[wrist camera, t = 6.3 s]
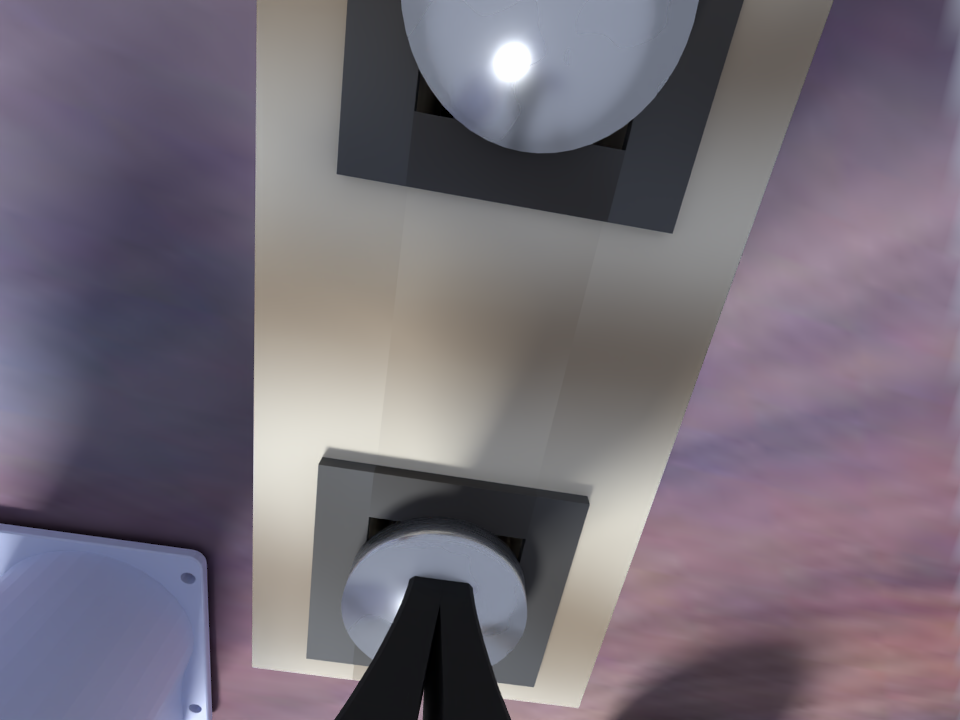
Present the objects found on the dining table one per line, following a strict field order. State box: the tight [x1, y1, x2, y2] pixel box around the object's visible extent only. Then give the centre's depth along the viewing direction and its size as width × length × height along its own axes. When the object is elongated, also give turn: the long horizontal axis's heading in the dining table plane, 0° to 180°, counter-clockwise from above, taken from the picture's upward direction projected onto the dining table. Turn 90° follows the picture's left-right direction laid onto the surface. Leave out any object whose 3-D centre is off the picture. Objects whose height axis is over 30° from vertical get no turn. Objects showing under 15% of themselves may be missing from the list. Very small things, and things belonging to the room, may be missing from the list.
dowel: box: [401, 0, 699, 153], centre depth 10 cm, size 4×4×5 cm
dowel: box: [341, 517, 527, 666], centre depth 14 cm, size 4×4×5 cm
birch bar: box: [252, 0, 834, 708], centre depth 13 cm, size 20×9×5 cm, turn 170°
